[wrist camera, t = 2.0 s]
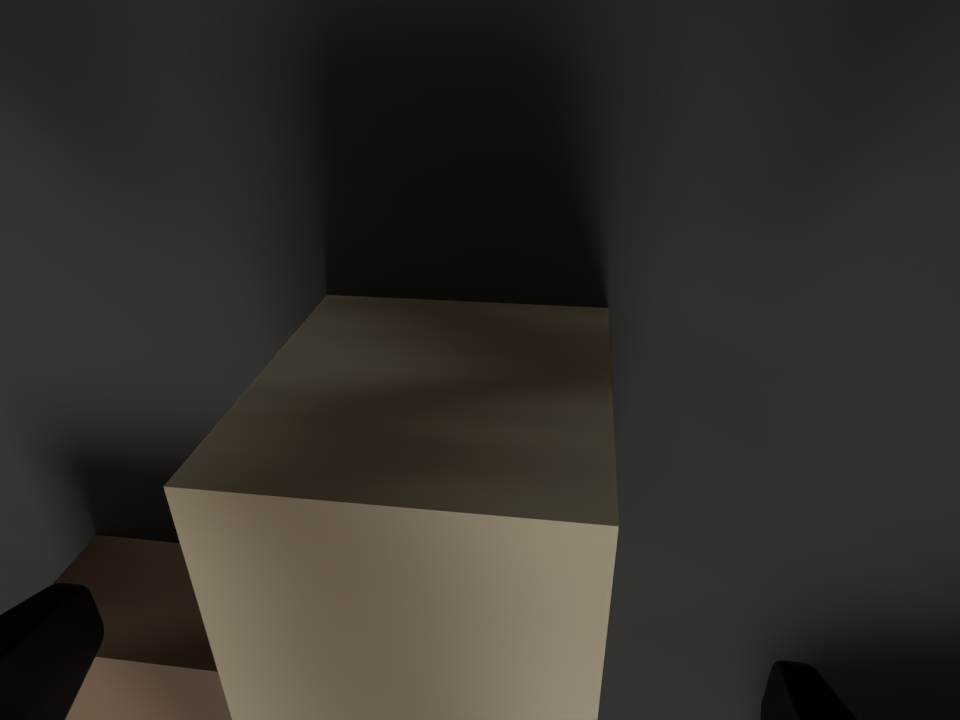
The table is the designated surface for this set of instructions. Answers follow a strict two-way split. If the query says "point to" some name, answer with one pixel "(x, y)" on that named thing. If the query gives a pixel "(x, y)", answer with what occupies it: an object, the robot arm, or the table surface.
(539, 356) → the oak block
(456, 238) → the table surface
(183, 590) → the walnut block
